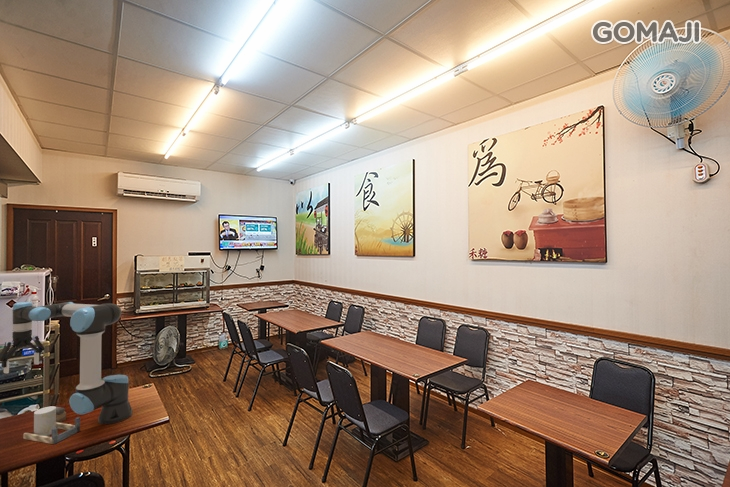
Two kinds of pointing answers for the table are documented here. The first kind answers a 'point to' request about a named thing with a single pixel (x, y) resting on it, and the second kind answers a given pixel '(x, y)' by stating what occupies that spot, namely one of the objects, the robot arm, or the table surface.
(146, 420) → the table surface
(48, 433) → the cup
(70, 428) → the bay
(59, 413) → the grey-brown rounded block
